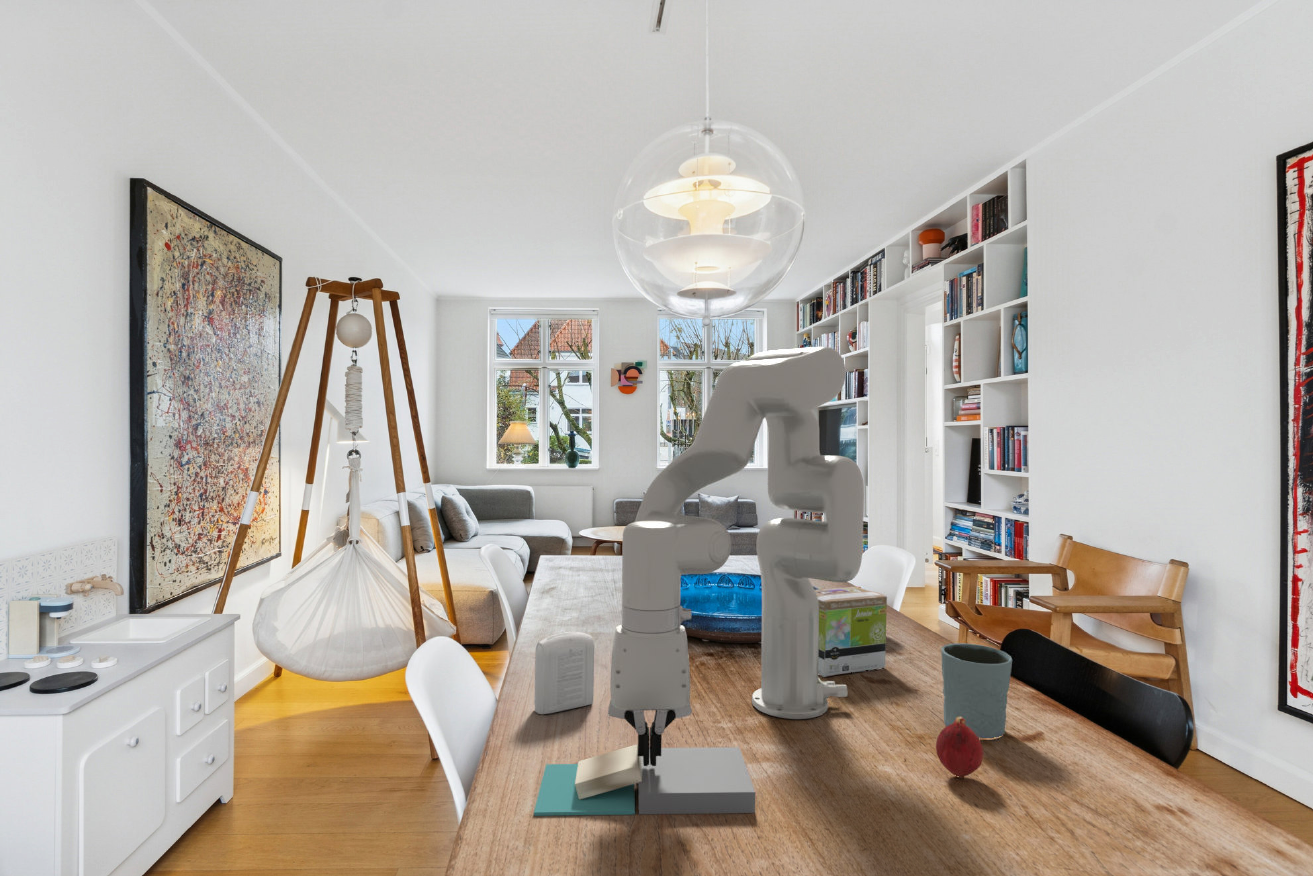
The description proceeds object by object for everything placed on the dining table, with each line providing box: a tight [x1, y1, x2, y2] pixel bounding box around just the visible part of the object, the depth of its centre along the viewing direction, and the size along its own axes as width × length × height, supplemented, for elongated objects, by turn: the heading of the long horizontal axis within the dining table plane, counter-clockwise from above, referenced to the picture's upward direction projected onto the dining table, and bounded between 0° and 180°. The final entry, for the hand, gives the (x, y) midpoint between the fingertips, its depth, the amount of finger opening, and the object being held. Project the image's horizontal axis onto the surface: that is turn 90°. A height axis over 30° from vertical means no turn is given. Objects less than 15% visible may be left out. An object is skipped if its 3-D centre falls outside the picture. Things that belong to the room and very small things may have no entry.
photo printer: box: [534, 631, 595, 715], centre depth 114 cm, size 10×4×12 cm, turn 123°
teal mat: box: [533, 763, 636, 817], centre depth 87 cm, size 12×12×1 cm
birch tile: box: [575, 743, 642, 800], centre depth 87 cm, size 8×6×2 cm
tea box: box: [814, 586, 888, 678], centre depth 136 cm, size 15×10×15 cm, turn 114°
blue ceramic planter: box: [940, 642, 1013, 738], centre depth 107 cm, size 10×10×12 cm
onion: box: [935, 716, 984, 778], centre depth 91 cm, size 6×6×8 cm
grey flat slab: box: [637, 746, 756, 815], centre depth 88 cm, size 14×12×2 cm
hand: (649, 761), depth 87 cm, fingers closed
